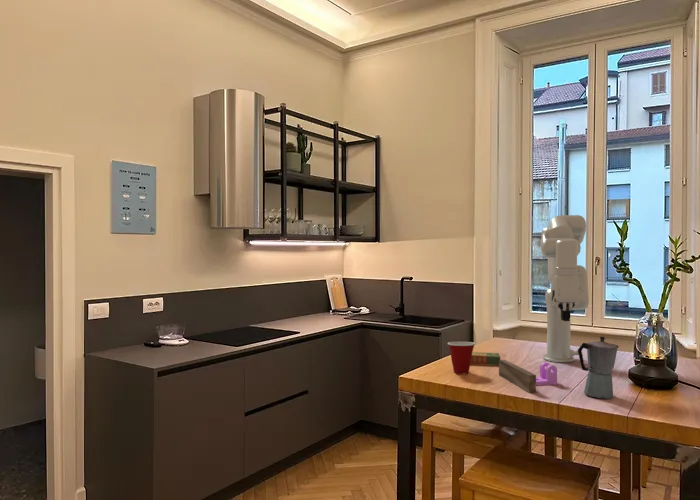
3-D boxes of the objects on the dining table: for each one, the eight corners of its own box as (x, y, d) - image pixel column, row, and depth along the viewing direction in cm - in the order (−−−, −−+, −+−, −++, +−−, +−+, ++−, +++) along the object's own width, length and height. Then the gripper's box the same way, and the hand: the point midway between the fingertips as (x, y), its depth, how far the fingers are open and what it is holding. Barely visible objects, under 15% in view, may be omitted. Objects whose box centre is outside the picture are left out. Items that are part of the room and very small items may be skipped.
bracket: (549, 380, 201) (549, 362, 201) (557, 384, 196) (557, 365, 196) (516, 382, 199) (516, 363, 199) (523, 386, 194) (524, 366, 193)
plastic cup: (468, 368, 219) (468, 339, 219) (479, 375, 209) (479, 344, 208) (443, 369, 217) (443, 339, 217) (452, 376, 207) (453, 345, 207)
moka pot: (627, 398, 179) (628, 338, 178) (589, 402, 174) (589, 340, 174) (606, 390, 188) (607, 333, 187) (569, 393, 183) (569, 335, 183)
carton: (461, 360, 235) (461, 350, 235) (499, 362, 232) (499, 352, 232) (461, 364, 227) (461, 354, 227) (500, 366, 224) (500, 356, 224)
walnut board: (505, 374, 209) (505, 359, 208) (535, 392, 185) (536, 375, 185) (498, 375, 208) (499, 359, 208) (529, 392, 184) (529, 375, 184)
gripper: (578, 270, 207) (577, 318, 208) (542, 271, 205) (542, 319, 206) (590, 272, 200) (589, 321, 201) (553, 273, 197) (552, 323, 198)
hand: (565, 320), depth 203 cm, fingers closed
